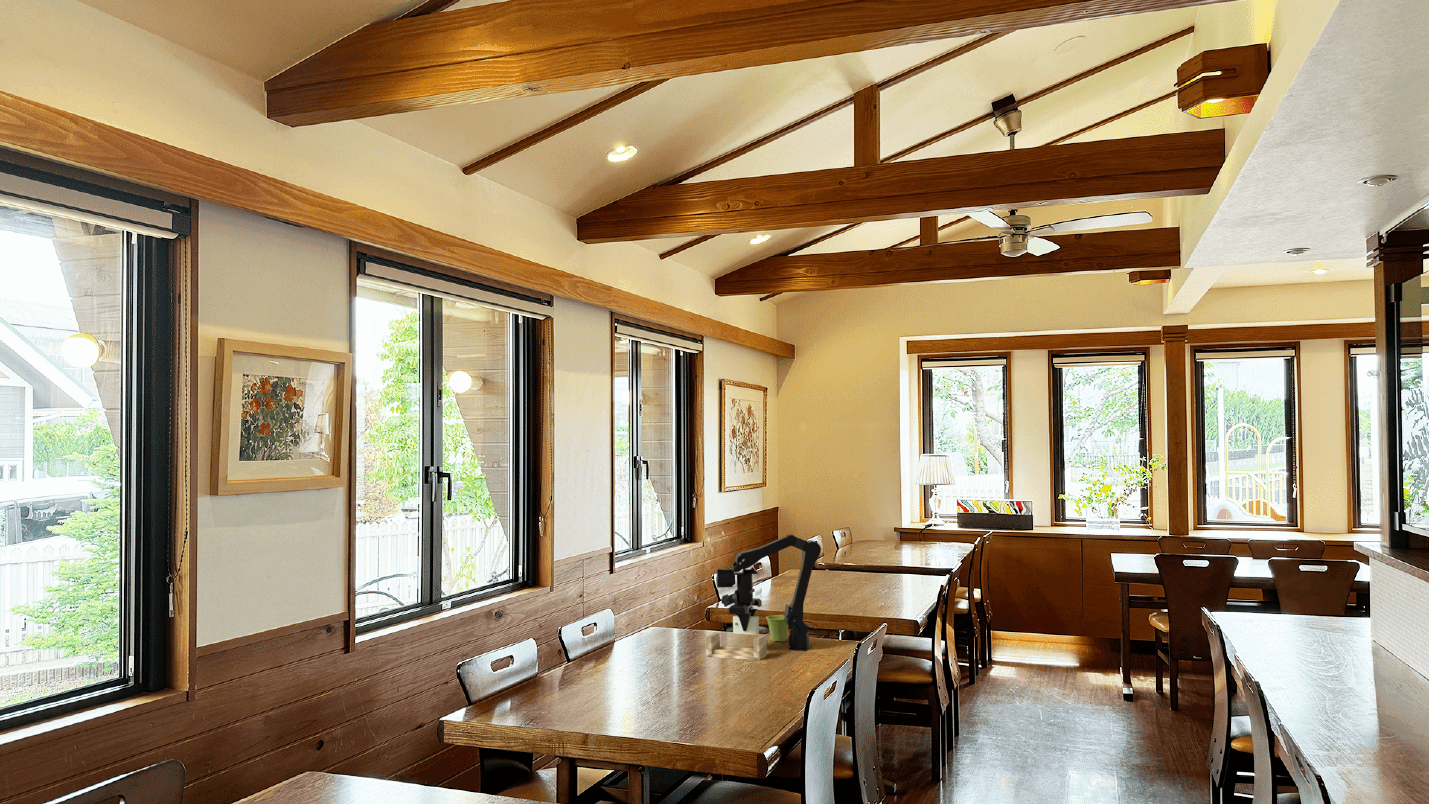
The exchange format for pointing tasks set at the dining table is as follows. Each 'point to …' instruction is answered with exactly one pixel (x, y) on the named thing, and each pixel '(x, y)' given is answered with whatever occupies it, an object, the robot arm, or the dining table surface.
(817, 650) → the dining table surface
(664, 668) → the dining table surface
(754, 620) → the pale green rectangular block
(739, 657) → the wooden u-shaped holder
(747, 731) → the dining table surface
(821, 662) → the dining table surface
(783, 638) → the plant pot
